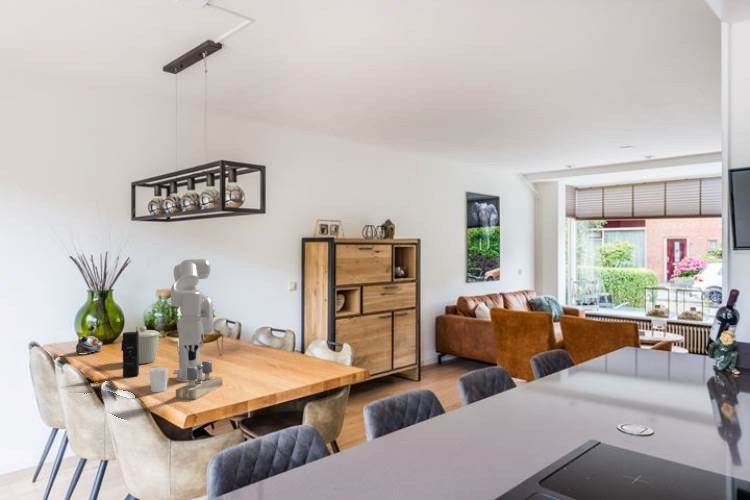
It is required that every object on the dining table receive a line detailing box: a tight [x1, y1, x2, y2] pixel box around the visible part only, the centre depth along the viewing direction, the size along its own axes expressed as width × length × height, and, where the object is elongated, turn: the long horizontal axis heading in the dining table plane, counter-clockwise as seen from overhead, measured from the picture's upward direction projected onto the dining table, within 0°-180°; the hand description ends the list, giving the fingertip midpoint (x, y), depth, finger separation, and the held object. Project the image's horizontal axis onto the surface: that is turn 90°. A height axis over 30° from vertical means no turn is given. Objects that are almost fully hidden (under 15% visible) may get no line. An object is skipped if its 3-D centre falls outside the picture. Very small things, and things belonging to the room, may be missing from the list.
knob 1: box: [187, 366, 198, 388], centre depth 218 cm, size 4×4×10 cm
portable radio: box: [120, 327, 140, 378], centre depth 252 cm, size 8×6×25 cm
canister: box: [133, 325, 161, 365], centre depth 283 cm, size 18×18×21 cm
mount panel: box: [175, 375, 223, 400], centre depth 223 cm, size 10×22×4 cm, turn 168°
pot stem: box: [197, 363, 203, 384], centre depth 223 cm, size 3×3×8 cm
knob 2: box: [201, 359, 213, 380], centre depth 229 cm, size 4×4×10 cm
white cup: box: [149, 366, 169, 393], centre depth 226 cm, size 8×8×10 cm
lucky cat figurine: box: [75, 335, 103, 354], centre depth 309 cm, size 15×12×14 cm
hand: (192, 359), depth 217 cm, fingers closed
